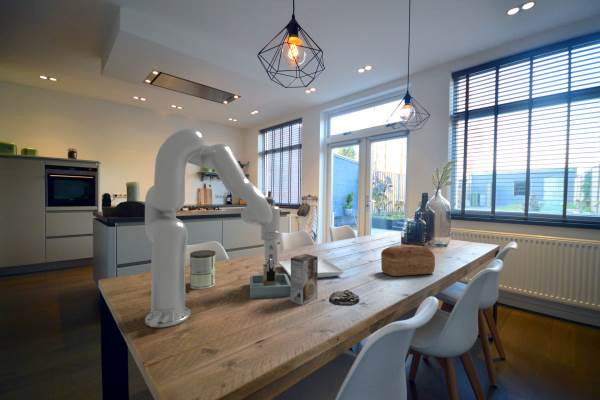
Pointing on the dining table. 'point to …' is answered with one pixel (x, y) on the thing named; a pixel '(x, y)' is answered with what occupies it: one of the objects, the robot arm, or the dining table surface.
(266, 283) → the oak block
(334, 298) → the dark grey coiled lump
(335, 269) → the square plate
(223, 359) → the dining table surface
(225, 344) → the dining table surface
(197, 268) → the coffee can
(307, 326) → the dining table surface
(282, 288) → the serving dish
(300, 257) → the coffee box
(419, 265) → the bread
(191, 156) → the robot arm
